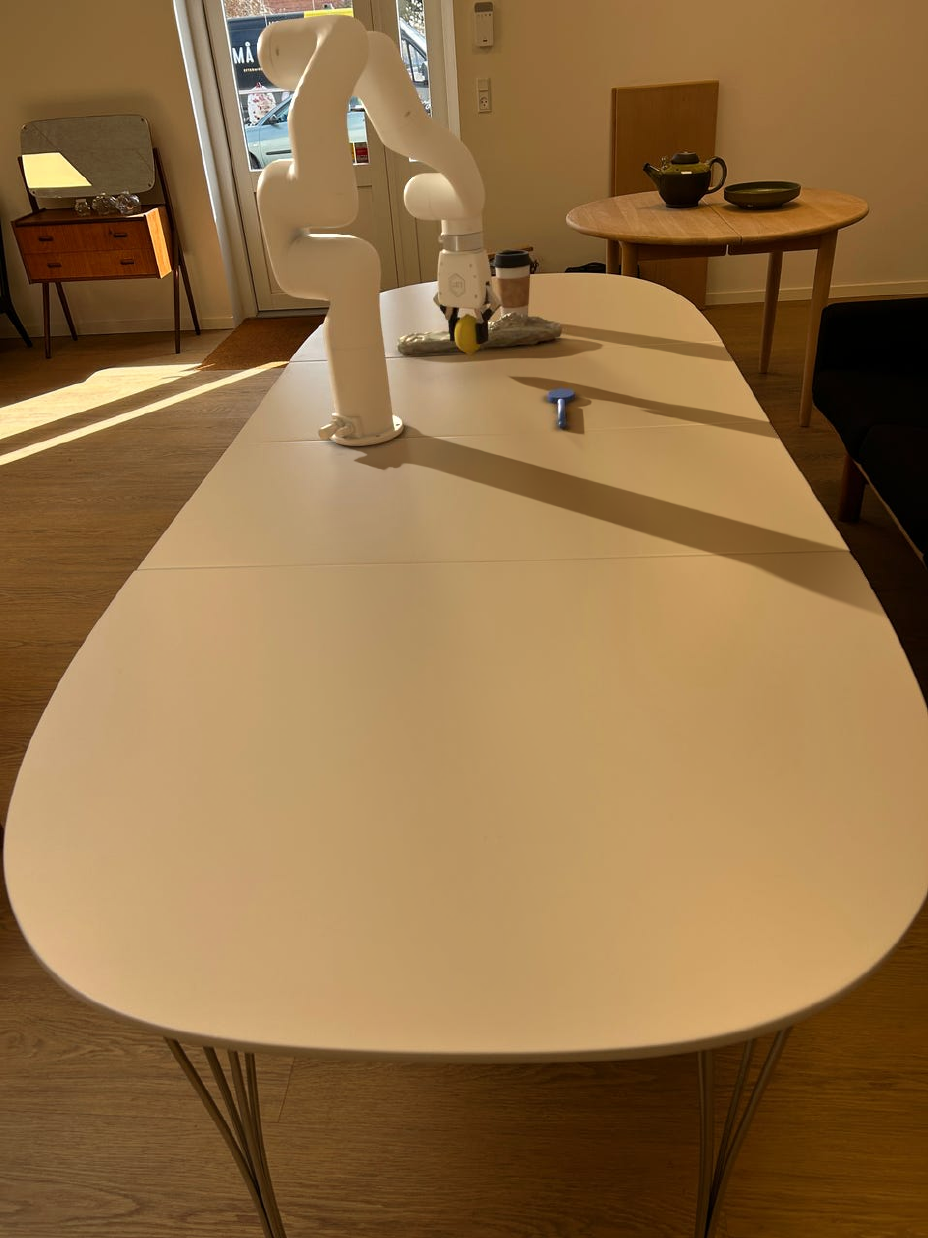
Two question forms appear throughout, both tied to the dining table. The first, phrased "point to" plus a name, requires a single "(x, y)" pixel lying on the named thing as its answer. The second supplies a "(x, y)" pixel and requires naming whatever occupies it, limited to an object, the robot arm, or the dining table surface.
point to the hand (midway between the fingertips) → (469, 340)
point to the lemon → (466, 334)
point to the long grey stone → (500, 334)
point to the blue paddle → (561, 402)
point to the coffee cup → (513, 281)
